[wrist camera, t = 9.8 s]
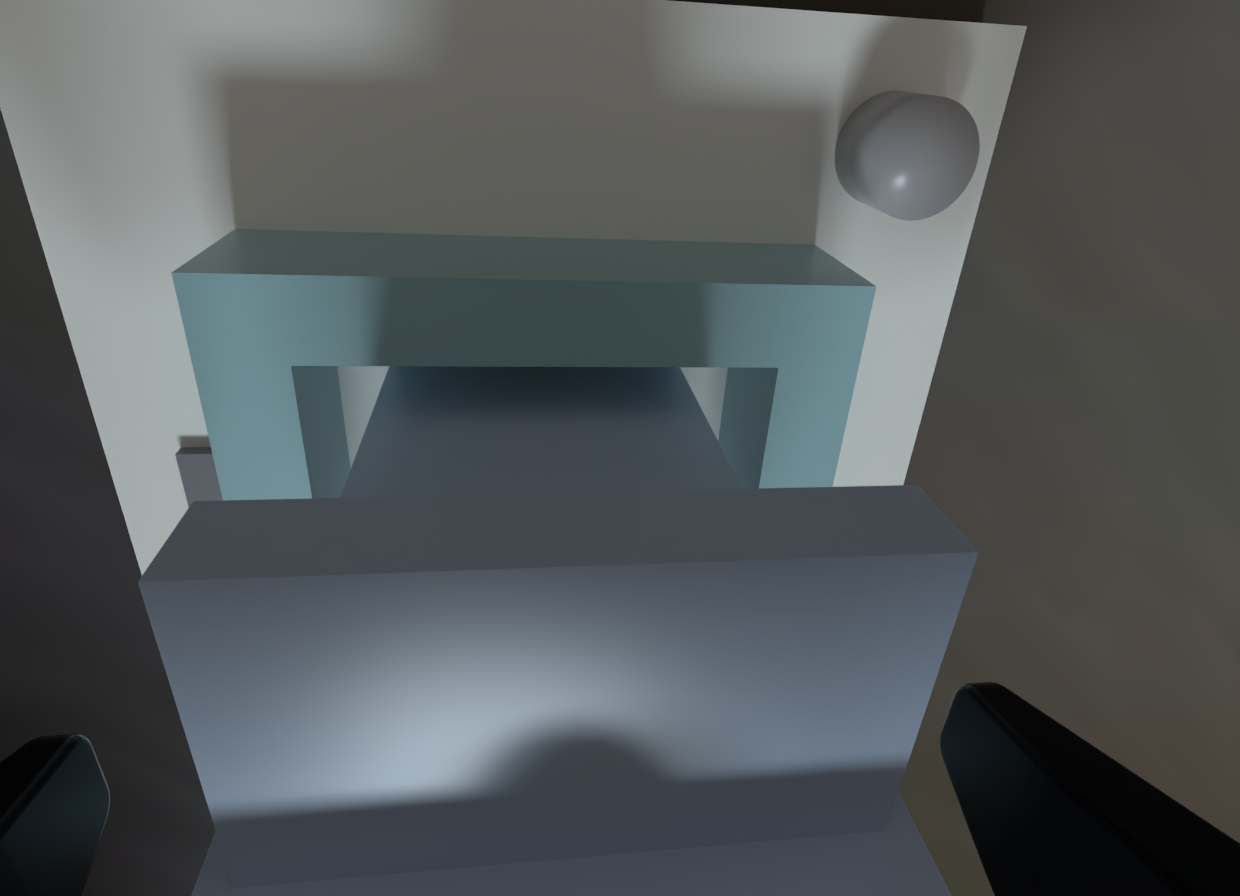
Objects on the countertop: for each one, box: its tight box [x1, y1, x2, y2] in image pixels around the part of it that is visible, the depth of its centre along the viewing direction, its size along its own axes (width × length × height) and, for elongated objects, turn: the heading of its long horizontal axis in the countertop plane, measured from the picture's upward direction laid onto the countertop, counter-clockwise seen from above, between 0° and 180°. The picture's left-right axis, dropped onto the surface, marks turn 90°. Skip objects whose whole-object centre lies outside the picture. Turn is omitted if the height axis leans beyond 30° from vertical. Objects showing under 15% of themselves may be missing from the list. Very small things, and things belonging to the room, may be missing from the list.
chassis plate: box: [0, 0, 1027, 575], centre depth 11 cm, size 14×12×3 cm
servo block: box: [138, 366, 979, 896], centre depth 8 cm, size 9×4×9 cm, turn 177°
